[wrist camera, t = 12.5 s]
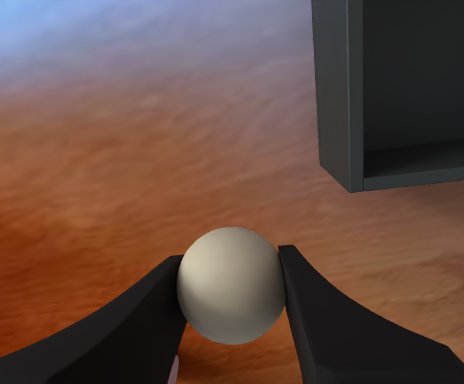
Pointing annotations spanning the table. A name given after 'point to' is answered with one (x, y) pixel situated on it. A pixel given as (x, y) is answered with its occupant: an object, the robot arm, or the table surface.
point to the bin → (390, 91)
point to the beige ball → (231, 285)
